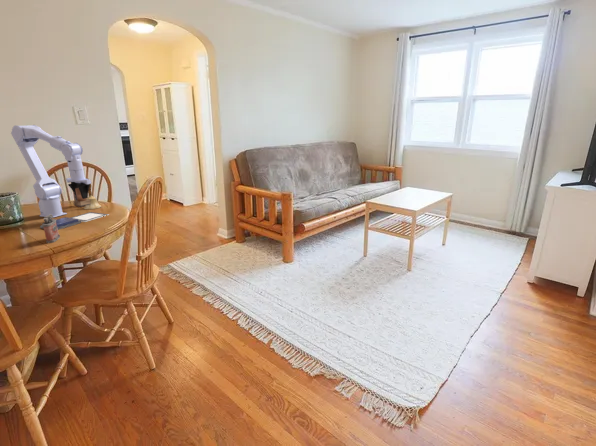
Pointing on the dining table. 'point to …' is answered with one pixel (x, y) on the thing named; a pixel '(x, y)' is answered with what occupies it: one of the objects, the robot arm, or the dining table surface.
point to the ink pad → (65, 222)
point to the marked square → (89, 216)
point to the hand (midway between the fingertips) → (82, 197)
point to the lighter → (50, 229)
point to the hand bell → (92, 201)
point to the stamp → (80, 199)
